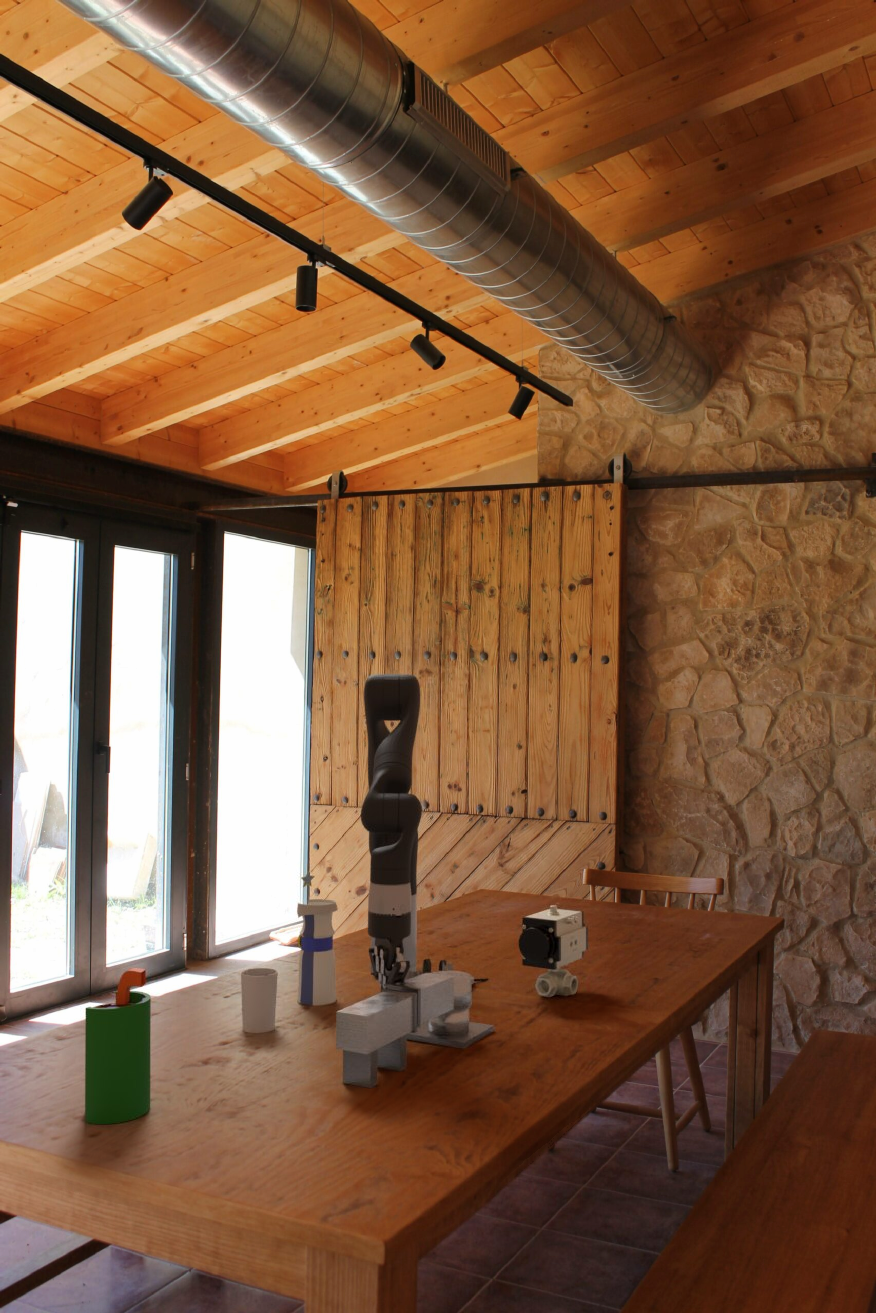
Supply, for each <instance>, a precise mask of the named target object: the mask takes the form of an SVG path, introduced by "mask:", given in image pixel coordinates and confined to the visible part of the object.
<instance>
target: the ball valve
mask: <svg viewBox="0 0 876 1313" xmlns="http://www.w3.org/2000/svg"><path fill="white" fill-rule="evenodd" d="M584 914H585V913H584V910H578V909H577V910H576V909H566V908H561V907H558V906H557V905H556V904H554V905H553V904H552V905H550V907H549V909H548V908H547V909H544V910H543V911H539V912H536V913H532V914H529V915H526V916H523V917H522V918H521V919H522V920H521V921H522V923H521V925H522V926H521V928H522V929H521V931H522V933H521V934H520V936H519V939H518V948H519V952H520V954H521V955H522V956H521V958H522V962H521V963H522V966H524V967H532V968H538V969H539V968H540V969H545V970H548V971H546V972H544V973H542V974H540V975H539V976H538V977H537V978H536V982H535V984H534V987H535V990H536V991H537V994H538V995H539V996H543V997H544V998H551V997H553V996H555V995H557V996H563V997H568V996H572V995H574V994H576V992H577V991H578V986H579V982H578V977H577V976H576V975H573V974H571V973H570V972H569V970H568V969H565V968H562V967H569V964H570V963H573V962H576V961H578V960H581V959H582V958H584V957H585V955H584V953H585V951H588V950H589V944H588V943H589V927H588V925H586V923H585V921H584V918H585V917H584V916H585V915H584Z"/></svg>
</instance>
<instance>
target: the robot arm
mask: <svg viewBox="0 0 876 1313" xmlns="http://www.w3.org/2000/svg"><path fill="white" fill-rule="evenodd" d="M420 688H421V686H420V682H419V680H418V678H417V677H416V676H415V675H412V674H405V673H403V674H401V673H400V674H399V673H376V674H371V675H369V676H368V677H367V678H366V680H365V682H364V687H363V706H364V715H365V724H366V733H367V735H366V736H367V782H368V790H367V791H368V792H367V794H366V795H365V798H364V800H363V803H362V805H361V809H360V820H361V824H362V826H363V828H364V829H365V830H366V831H367V832H368V850H369V854H370V863H369V864H370V871H369V872H370V873H369V875H370V877H369V878H370V879H369V889H368V896H367V897H368V899H367V903H368V904H367V906H368V908H367V934H368V935H369V937H370V947H369V948H368V955H369V959H370V973H372V974H374V975H373V976H374V979H375V981H377V980H378V985H379V987H380V993H381V992H382V989H384V988H385V989H387V984H389V983H391V984H396V983H399V982H402V981H404V979H405V977H406V975H407V972H408V970H409V971H417V962H418V961H417V940H418V939H417V938H418V937H417V936H418V935H417V934H418V933H417V932H418V931H417V929H418V926H417V925H418V924H417V919H418V916H417V914H418V913H417V911H418V907H417V906H418V902H417V901H418V900H417V899H418V898H417V897H418V894H417V892H418V889H417V888H418V887H417V886H418V884H417V882H418V881H417V880H418V879H417V875H418V874H417V866H418V849H419V848H418V847H419V826H420V823H421V819H422V815H423V812H422V811H423V808H422V803H421V801H420V799H419V798H418V797H417V796H416V795H415V794H414V793H410V791H411V788H412V784H413V776H412V775H413V773H412V772H413V752H414V751H413V750H414V745H415V741H416V735H417V731H418V730H417V729H418V724H419V717H420V710H421V709H420V708H421V689H420ZM385 721H386V722H387V721H390V722H393V721H395V722H397V721H398V722H399V723H398V724H397V725H396V726H395V728H394V729H392V731H390V730H389V728H388V727H387V725H386V722H385ZM405 960H409V961H410V962H409V961H405ZM409 968H410V969H409Z"/></svg>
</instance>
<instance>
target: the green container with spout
mask: <svg viewBox="0 0 876 1313" xmlns="http://www.w3.org/2000/svg"><path fill="white" fill-rule="evenodd" d="M146 974H147V972H146V969H145V968H140V967H132V968H128V970H126V971H125V972H123V973H122V975H121V977H120V979H119V982H118V985H117V990H116V991H115V1002H112V1003H111V1002H109V1003H104V1004H98V1005H95V1006H88V1007H85V1029H84V1030H85V1031H84V1032H85V1033H84V1034H85V1040H84V1041H85V1044H84V1045H85V1052H84V1056H85V1059H84V1060H85V1061H84V1062H85V1063H84V1064H85V1065H84V1066H85V1068H84V1070H85V1072H84V1077H85V1078H84V1081H85V1082H84V1083H85V1084H84V1123H86V1124H93V1125H109V1124H110V1125H111V1124H112V1125H113V1124H121V1123H125V1122H129V1121H132V1120H135V1119H137V1118H140V1117H143V1116H144V1115H146V1114H147V1113H148V1112H149V1111H150V1110H151V1019H152V1018H151V1014H152V1013H151V1006H152V1005H151V1001H152V1000H151V995H150V994H149V993H147V992H143V991H138V990H137V991H136V990H131V986H132V987H137V988H142V987H143V986H145V985H146V980H147V977H146V976H147V975H146Z"/></svg>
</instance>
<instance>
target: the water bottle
mask: <svg viewBox="0 0 876 1313" xmlns="http://www.w3.org/2000/svg"><path fill="white" fill-rule="evenodd" d="M300 878H301V880H302V881H303V885H302V888H305V887H306V886H309V887H312V880H313V879H314V878H315V875H311V874H310V872H309V870H307V872H306V875H304V876H301V877H300ZM337 911H338V904H337V901H336V900H333V899H332V900H331V899H322V898H320V899H319V898H313V899H308V900H307V904H304V903H303V904H302V903H299V902H297V908H296V913H297V914H296V915H297V917H298V919H299V918H300V917H302V921H303V923H302V927H301V929H300V931H299V935H298V937H297V945H298V948H299V949H300V951H299V956H298V980H297V981H298V982H297V997H296V998H297V999H296V1000H297V1001H296V1002H297V1003H299V1004H301V1005H304V1006H327V1005H331V1004H333V1003H336V1001H337V991H336V989H337V988H336V956H335V955H336V954H335V950H334V940H333V939H334V938H333V937H334V935H335V933H336V931H335V930H334V928H333V923H332V922H333V914H334V913H335V912H337Z"/></svg>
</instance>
